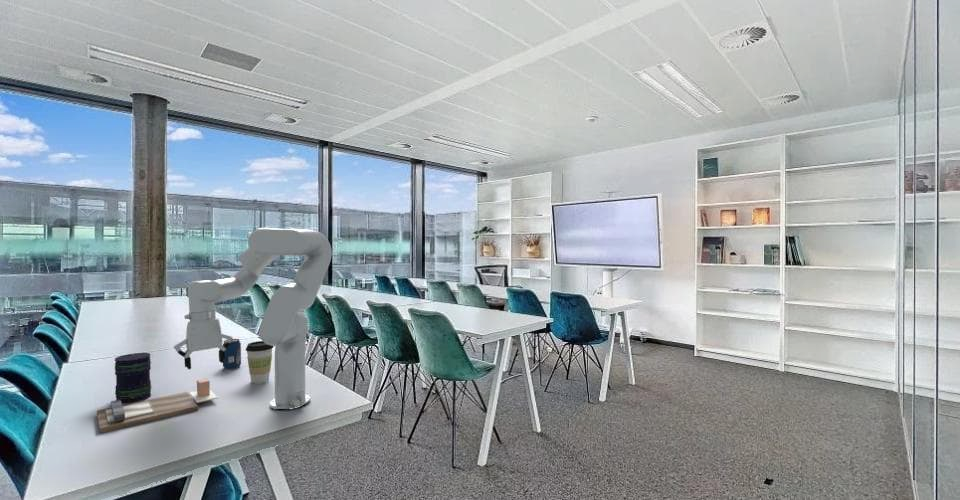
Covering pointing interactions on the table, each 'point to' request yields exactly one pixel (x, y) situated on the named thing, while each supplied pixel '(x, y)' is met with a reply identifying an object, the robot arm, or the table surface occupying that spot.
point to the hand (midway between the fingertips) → (205, 365)
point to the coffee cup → (259, 361)
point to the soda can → (232, 355)
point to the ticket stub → (203, 391)
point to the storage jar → (133, 377)
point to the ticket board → (144, 411)
